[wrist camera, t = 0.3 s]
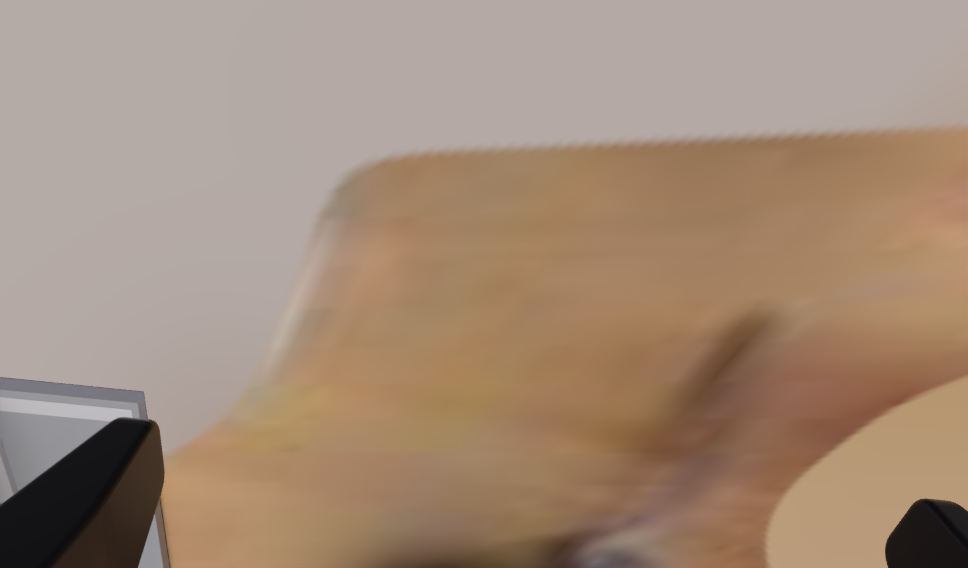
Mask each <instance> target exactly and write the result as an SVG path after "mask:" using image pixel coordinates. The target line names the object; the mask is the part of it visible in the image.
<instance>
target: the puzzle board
mask: <svg viewBox="0 0 968 568" xmlns="http://www.w3.org/2000/svg"><path fill="white" fill-rule="evenodd" d="M119 417H130V418H140V419H148V417H147V411H146V404H145V397H144V392H141V391H131V390H122V389H111V388H102V387H93V386H82V385H73V384H62V383H52V382H43V381H33V380H23V379H13V378H3V377H0V504H2V503H3V502H4V501H6V500H7V499H8V498H10V497H11V496H12V495H14V494H15V493H16V492H18V491H19V490H20V489H22V488H23V487H24V486H26V485H27V484H28V483H30V482H31V481H32V480H34V479H35V478H36V477H38V476H39V475H40V474H41V473H43V472H44V471H45V470H47V469H48V468H49V467H51V466H52V465H53V464H55V463H56V462H57V461H59V460H60V459H61V458H63V457H64V456H65V455H67V454H68V453H69V452H71V451H72V450H73V449H75V448H76V447H77V446H79V445H80V444H81V443H83V442H84V441H85V440H87V439H88V438H89V437H91V436H92V435H93V434H95V433H96V432H97V431H99V430H100V429H101V428H103V427H104V426H105V425H107V424H108V423H109V422H111V421H112V420H114V419H116V418H119ZM138 568H170V565H169V559H168V552H167V545H166V538H165V532H164V525H163V518H162V512H161V505H160V498H159V502H158V505H157V508H156V511H155V514H154V518H153V521H152V524H151V527H150V531H149V534H148V537H147V540H146V544H145V547H144V550H143V553H142V557H141V560H140V563H139V566H138Z"/></svg>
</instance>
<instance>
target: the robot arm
mask: <svg viewBox="0 0 968 568" xmlns="http://www.w3.org/2000/svg"><path fill="white" fill-rule="evenodd" d="M163 483H164V462H163V454H162V446H161V438H160V430H159V427H158V425H157V423H156V422H155V421H152V420H150V419H140V418H130V417H119V418H116V419H114V420H112V421H111V422H109V423H108V424H107V425H105V426H104V427H103V428H101V429H100V430H99V431H97V432H96V433H95V434H93V435H92V436H91V437H89V438H88V439H87V440H85V441H84V442H83V443H81V444H80V445H79V446H77V447H76V448H75V449H73V450H72V451H71V452H69V453H68V454H67V455H65V456H64V457H63V458H61V459H60V460H59V461H57V462H56V463H55V464H53V465H52V466H51V467H49V468H48V469H47V470H45V471H44V472H43V473H41V474H40V475H39V476H38V477H36V478H35V479H34V480H32V481H31V482H30V483H28V484H27V485H26V486H24V487H23V488H22V489H20V490H19V491H18V492H16V493H15V494H14V495H12V496H11V497H10V498H8V499H7V500H6V501H4V502H3V503H2V504H0V568H138V566H139V563H140V560H141V557H142V553H143V550H144V547H145V544H146V540H147V537H148V534H149V531H150V527H151V524H152V521H153V518H154V514H155V511H156V508H157V505H158V502H159V498H160V495H161V492H162V488H163ZM885 556H886V561H887V565H888V568H968V511H966V510H965V509H964V508H963V507H961V506H960V505H958V504H956V503H954V502H951V501H945V500H944V501H943V500H935V499H920V500H918V501H916V502H915V503H914V504H913V505H912V506H911V507H910V509H909V510H908V511H907V513H906V514H905V515H904V517H903V518H902V519H901V521H900V522H899V524H898V525H897V526H896V528H895V529H894V531H893V532H892V533H891V535H890V536H889V538H888V540H887V543H886V548H885Z"/></svg>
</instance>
